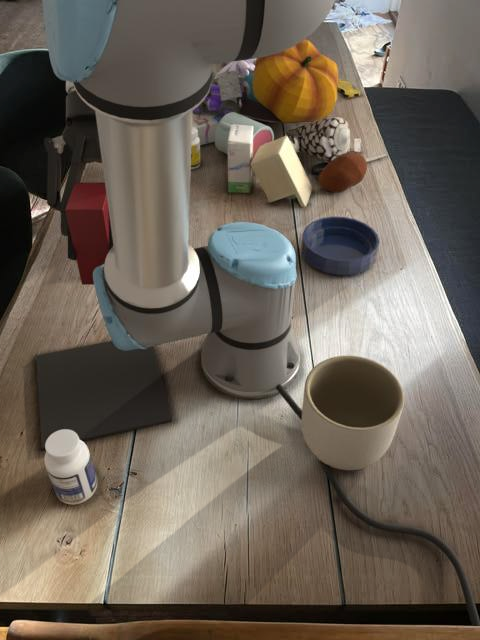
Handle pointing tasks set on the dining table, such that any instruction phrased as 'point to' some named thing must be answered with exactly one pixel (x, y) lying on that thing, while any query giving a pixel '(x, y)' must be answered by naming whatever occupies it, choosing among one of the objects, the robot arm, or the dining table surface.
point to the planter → (350, 411)
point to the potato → (343, 172)
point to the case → (89, 227)
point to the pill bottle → (70, 467)
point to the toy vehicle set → (355, 145)
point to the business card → (229, 85)
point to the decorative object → (255, 105)
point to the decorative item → (347, 89)
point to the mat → (100, 391)
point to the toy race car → (224, 106)
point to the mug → (260, 131)
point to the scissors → (328, 162)
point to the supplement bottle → (195, 149)
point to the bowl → (339, 245)
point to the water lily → (239, 67)
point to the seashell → (322, 138)
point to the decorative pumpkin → (296, 83)
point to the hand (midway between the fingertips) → (93, 258)
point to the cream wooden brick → (281, 172)
